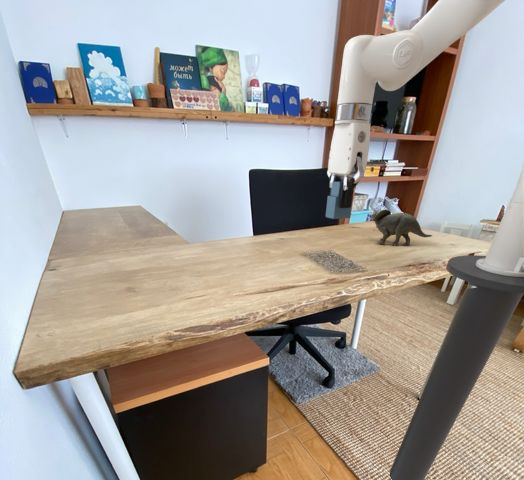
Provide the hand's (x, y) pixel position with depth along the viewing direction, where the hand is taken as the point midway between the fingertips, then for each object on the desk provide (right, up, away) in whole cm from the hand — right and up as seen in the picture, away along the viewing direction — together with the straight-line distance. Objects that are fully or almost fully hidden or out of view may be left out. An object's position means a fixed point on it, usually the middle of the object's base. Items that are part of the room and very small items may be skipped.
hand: (339, 205), depth 76 cm
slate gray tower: (0, -2, +2) cm, 3 cm away
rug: (0, -12, +8) cm, 15 cm away
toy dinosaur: (+26, 0, +27) cm, 37 cm away
